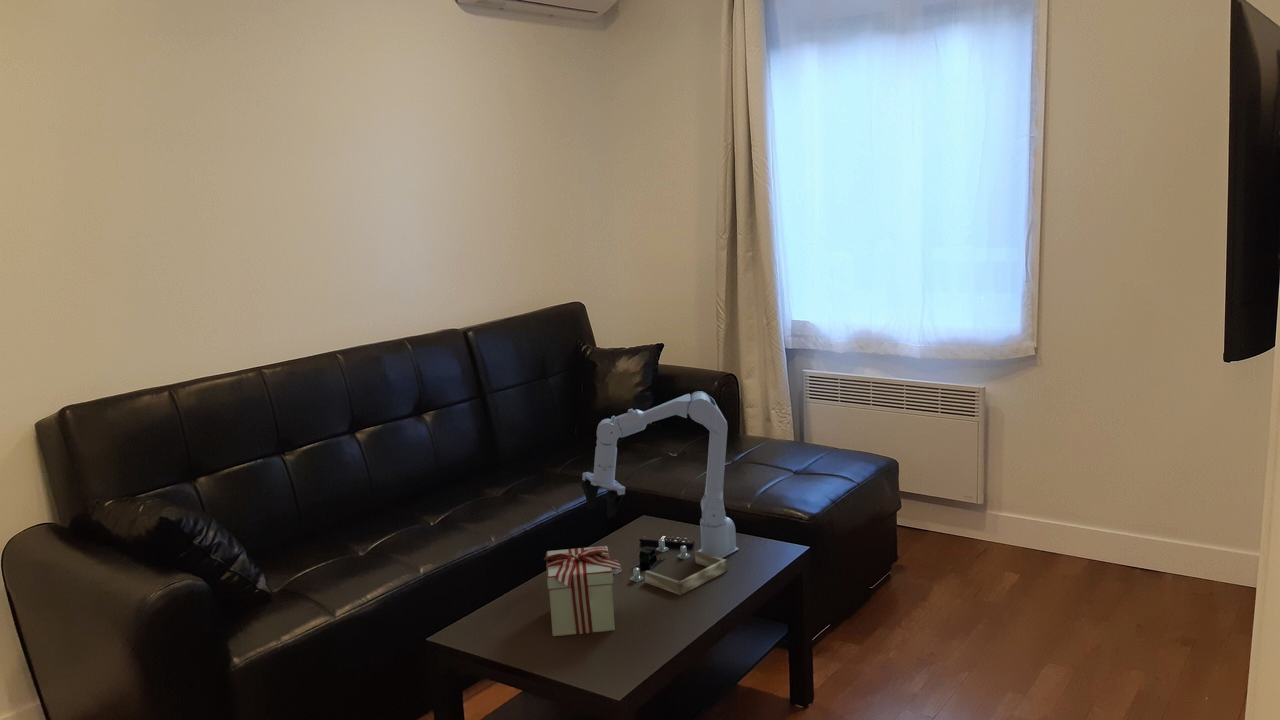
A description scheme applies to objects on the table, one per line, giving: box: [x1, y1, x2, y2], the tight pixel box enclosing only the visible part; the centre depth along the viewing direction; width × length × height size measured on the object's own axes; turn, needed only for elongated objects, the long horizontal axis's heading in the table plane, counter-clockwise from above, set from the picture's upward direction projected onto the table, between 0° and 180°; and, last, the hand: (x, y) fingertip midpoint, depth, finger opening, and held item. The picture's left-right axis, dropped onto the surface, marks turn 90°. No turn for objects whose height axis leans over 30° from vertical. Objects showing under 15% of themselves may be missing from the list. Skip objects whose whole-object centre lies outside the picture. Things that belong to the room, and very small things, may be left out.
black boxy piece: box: [630, 546, 666, 572], centre depth 251 cm, size 12×7×5 cm, turn 149°
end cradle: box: [644, 550, 728, 596], centre depth 241 cm, size 18×12×3 cm, turn 135°
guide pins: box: [612, 538, 691, 583], centre depth 250 cm, size 20×10×3 cm, turn 135°
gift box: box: [543, 545, 622, 637], centre depth 219 cm, size 17×18×17 cm
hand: (600, 512), depth 254 cm, fingers open, 7 cm apart
